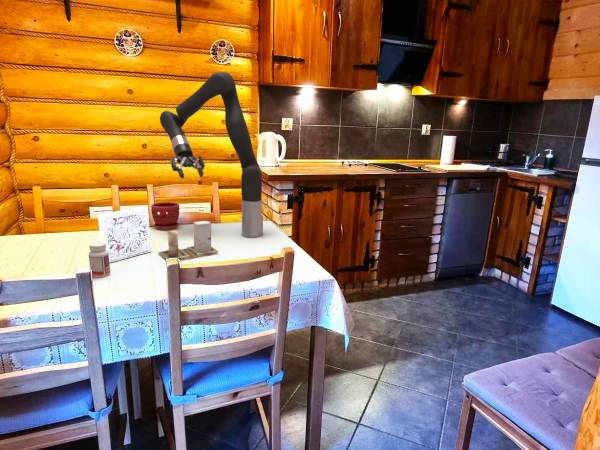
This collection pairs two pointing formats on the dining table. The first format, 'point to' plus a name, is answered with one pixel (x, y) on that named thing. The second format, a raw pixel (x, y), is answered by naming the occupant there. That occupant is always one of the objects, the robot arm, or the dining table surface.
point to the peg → (173, 243)
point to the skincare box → (202, 236)
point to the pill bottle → (99, 259)
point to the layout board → (188, 253)
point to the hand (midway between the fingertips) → (192, 176)
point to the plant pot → (165, 215)
